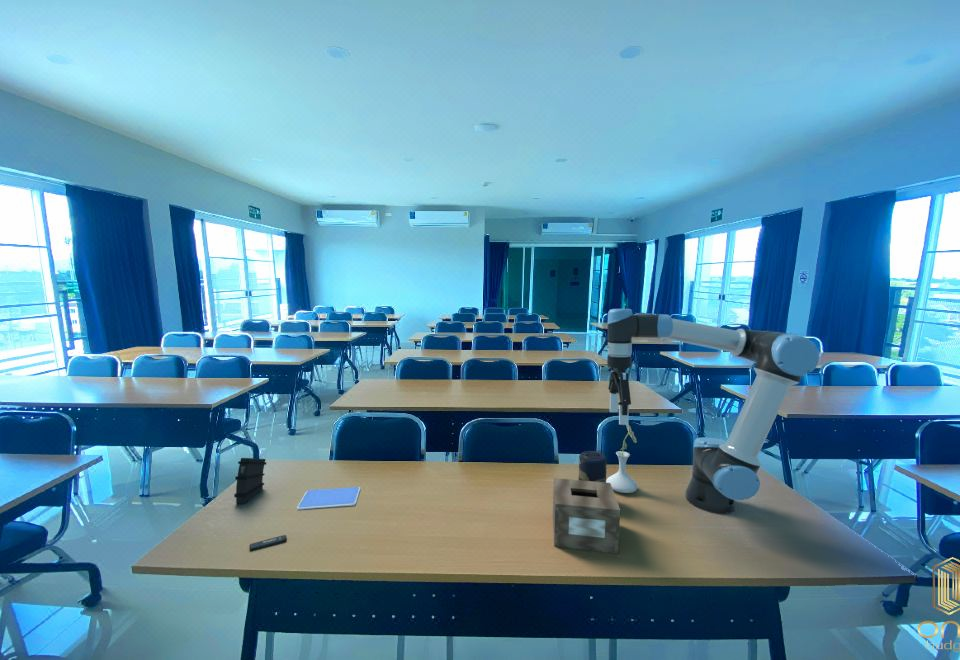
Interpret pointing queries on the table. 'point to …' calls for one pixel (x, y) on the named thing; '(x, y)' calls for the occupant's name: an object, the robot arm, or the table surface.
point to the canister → (592, 466)
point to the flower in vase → (623, 471)
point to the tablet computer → (329, 498)
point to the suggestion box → (585, 515)
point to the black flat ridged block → (249, 479)
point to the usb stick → (267, 542)
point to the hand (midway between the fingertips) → (618, 417)
